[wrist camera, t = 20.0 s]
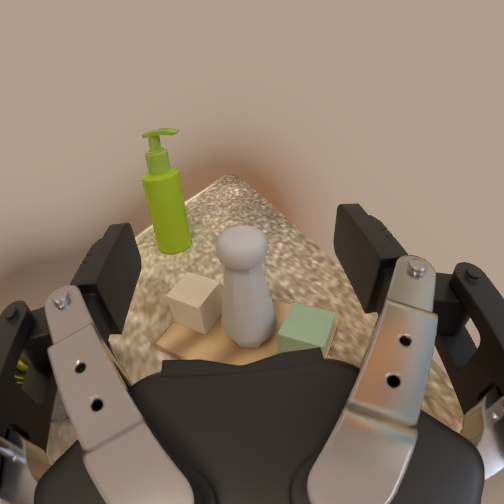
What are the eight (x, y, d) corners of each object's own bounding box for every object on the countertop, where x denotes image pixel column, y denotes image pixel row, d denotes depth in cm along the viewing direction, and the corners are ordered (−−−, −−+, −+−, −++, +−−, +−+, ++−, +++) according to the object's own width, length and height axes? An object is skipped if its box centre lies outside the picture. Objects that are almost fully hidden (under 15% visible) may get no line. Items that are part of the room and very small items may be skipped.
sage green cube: (276, 360, 28) (276, 333, 25) (291, 329, 31) (293, 301, 29) (318, 372, 26) (324, 347, 24) (330, 339, 29) (336, 312, 27)
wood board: (157, 348, 31) (154, 343, 30) (209, 286, 39) (208, 280, 39) (307, 408, 24) (308, 404, 23) (338, 322, 33) (339, 316, 32)
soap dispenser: (189, 256, 46) (166, 132, 34) (153, 252, 47) (125, 138, 36) (202, 236, 50) (185, 123, 39) (168, 234, 52) (146, 128, 40)
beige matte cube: (174, 322, 33) (165, 295, 30) (194, 298, 36) (188, 271, 33) (206, 335, 31) (198, 307, 28) (225, 309, 34) (220, 281, 32)
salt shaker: (241, 308, 34) (230, 211, 27) (285, 324, 32) (287, 223, 24) (214, 342, 30) (191, 243, 23) (260, 363, 28) (253, 261, 20)
